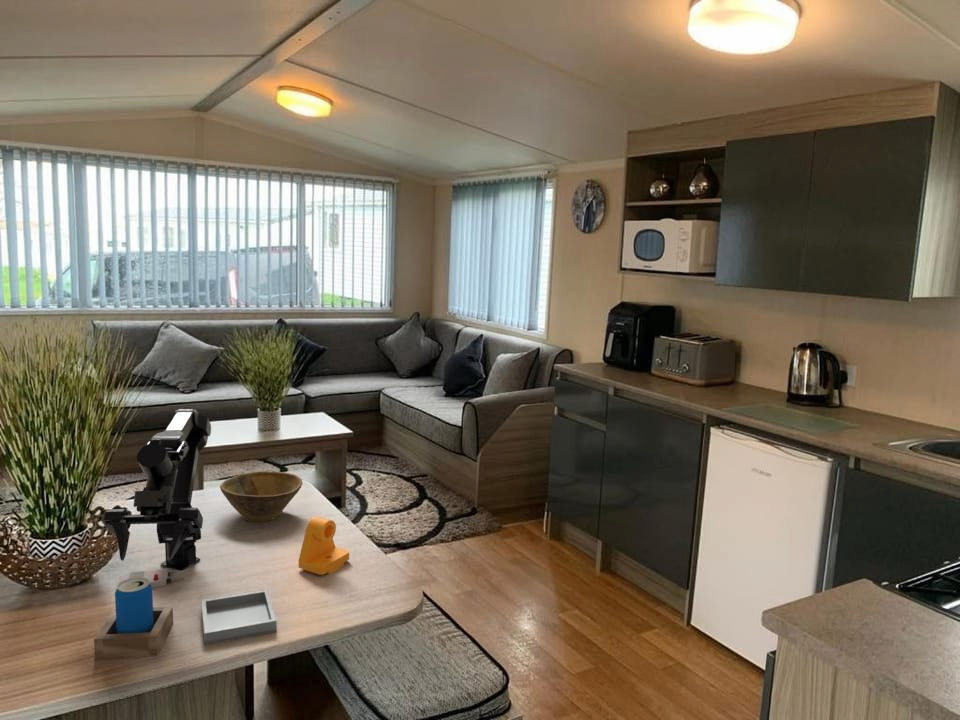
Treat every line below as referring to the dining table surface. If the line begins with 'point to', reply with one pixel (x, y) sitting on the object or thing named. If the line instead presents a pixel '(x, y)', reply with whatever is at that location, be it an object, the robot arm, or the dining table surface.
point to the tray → (237, 617)
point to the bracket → (321, 548)
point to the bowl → (261, 493)
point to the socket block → (133, 637)
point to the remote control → (152, 577)
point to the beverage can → (134, 606)
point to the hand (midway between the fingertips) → (146, 559)
